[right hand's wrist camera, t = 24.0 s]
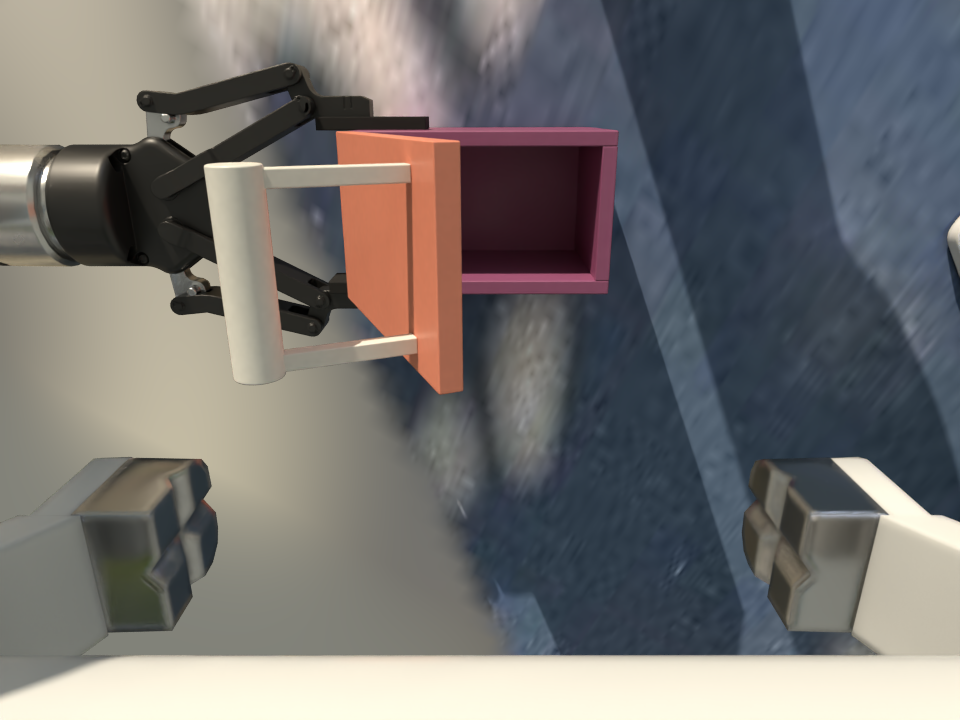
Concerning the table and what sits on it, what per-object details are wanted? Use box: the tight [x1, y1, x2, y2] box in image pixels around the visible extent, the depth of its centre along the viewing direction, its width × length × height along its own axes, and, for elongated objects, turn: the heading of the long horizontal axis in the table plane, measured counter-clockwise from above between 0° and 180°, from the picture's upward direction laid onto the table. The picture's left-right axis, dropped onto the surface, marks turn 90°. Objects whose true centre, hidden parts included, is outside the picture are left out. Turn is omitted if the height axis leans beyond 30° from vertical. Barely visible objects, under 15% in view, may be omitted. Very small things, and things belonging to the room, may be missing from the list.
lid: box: [204, 131, 463, 395], centre depth 30 cm, size 16×9×8 cm
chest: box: [354, 127, 619, 294], centre depth 43 cm, size 15×9×10 cm, turn 90°
